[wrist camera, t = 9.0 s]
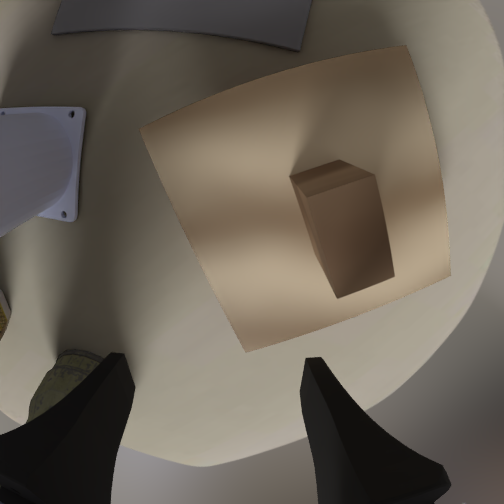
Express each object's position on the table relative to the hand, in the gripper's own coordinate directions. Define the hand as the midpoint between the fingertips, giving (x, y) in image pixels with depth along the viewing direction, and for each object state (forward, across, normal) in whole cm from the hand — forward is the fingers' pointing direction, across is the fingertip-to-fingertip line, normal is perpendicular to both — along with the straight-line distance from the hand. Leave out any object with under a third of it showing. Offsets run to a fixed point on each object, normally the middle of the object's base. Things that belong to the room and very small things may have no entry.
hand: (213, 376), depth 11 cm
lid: (+5, -5, -5) cm, 9 cm away
